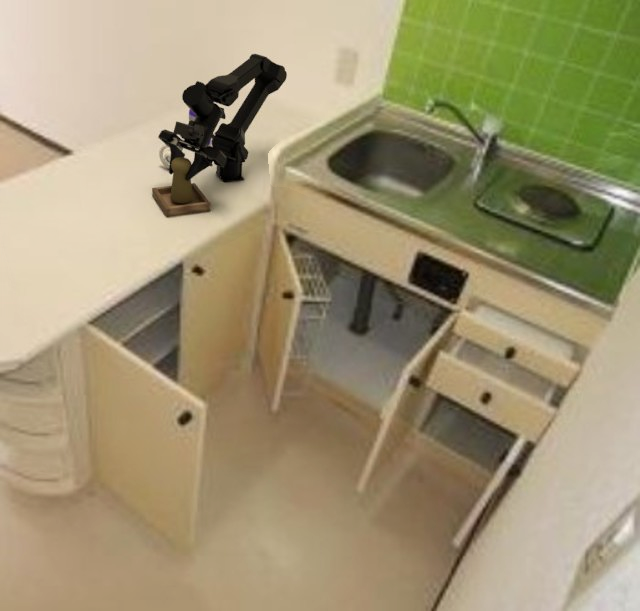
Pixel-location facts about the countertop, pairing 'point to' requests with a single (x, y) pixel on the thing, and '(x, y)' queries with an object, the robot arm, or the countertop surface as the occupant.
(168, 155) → the ring around a ball
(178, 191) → the cork
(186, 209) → the walnut tray
